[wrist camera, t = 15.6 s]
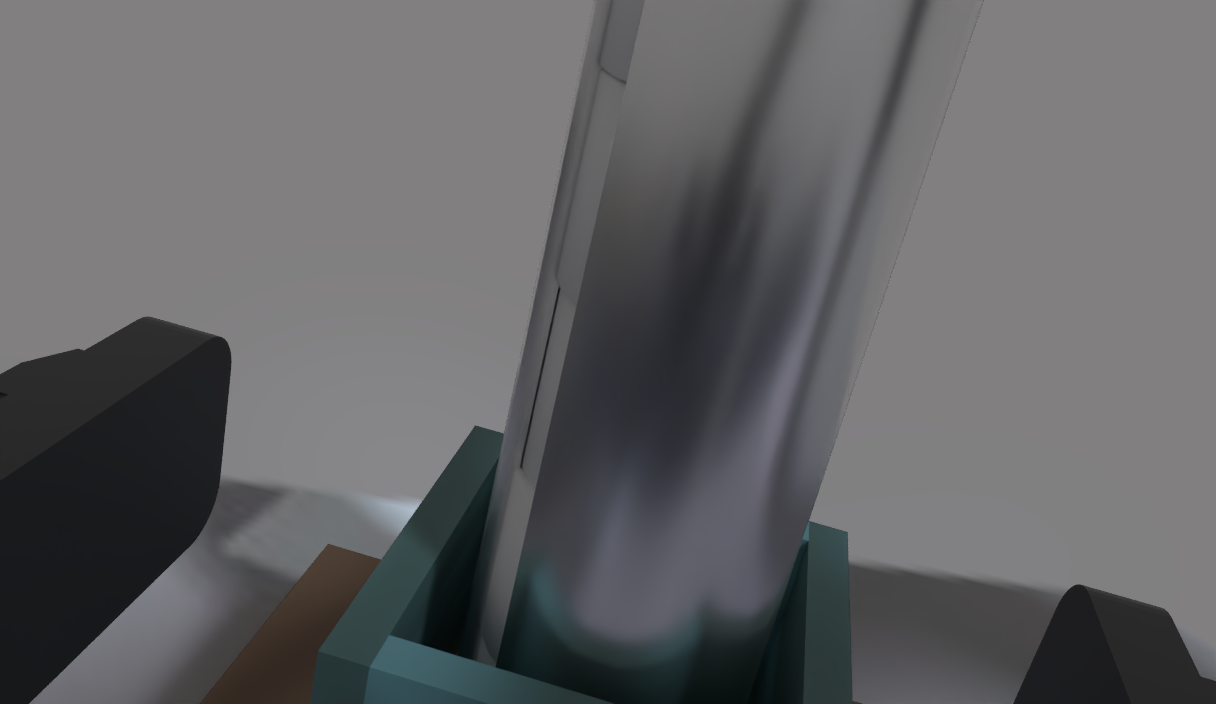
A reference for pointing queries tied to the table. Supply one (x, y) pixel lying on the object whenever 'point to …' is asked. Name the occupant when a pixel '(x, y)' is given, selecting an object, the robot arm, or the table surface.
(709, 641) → the silver metal cylinder
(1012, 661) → the table surface
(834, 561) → the cup stand
